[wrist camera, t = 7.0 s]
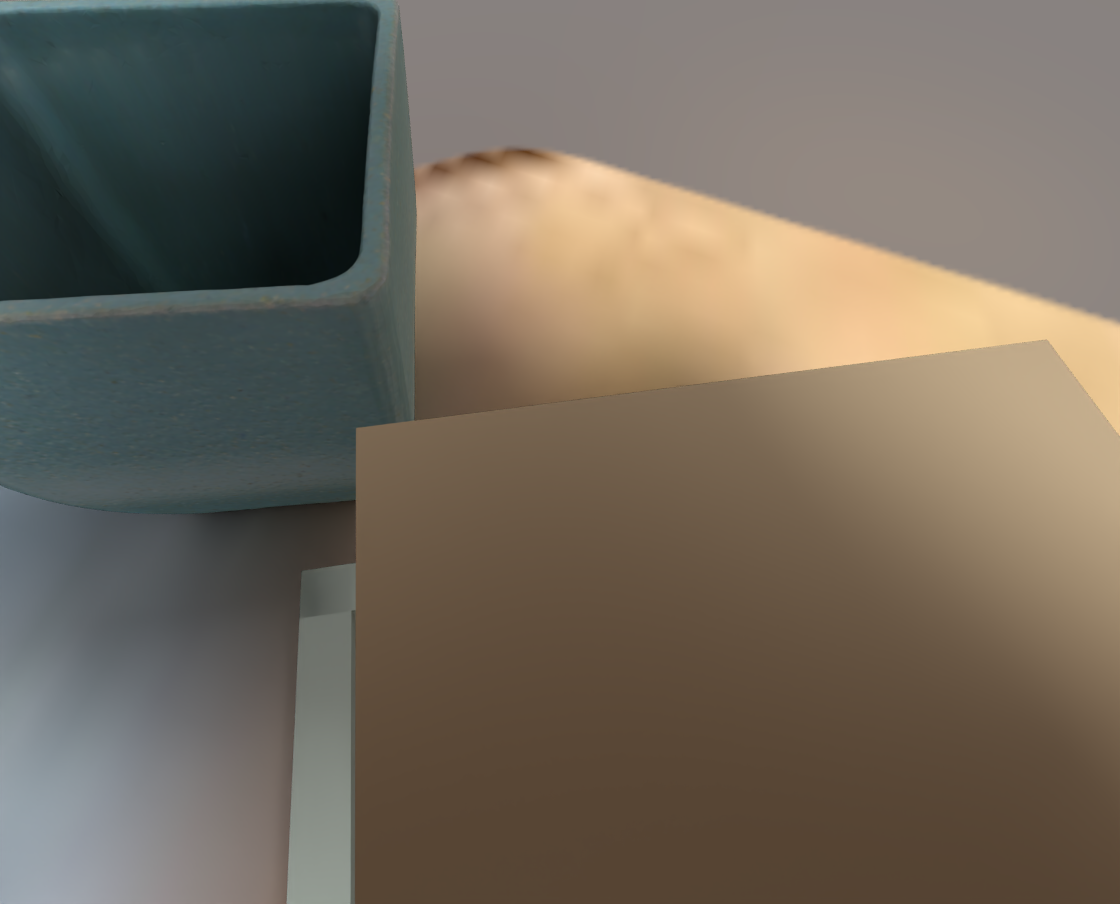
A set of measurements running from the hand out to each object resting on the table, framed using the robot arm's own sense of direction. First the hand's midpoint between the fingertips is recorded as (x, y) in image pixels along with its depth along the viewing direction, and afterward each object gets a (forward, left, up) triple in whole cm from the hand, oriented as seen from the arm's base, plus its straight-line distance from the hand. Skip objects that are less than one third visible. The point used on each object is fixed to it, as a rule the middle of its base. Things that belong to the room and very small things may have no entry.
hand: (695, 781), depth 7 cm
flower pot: (+13, -2, -7) cm, 15 cm away
